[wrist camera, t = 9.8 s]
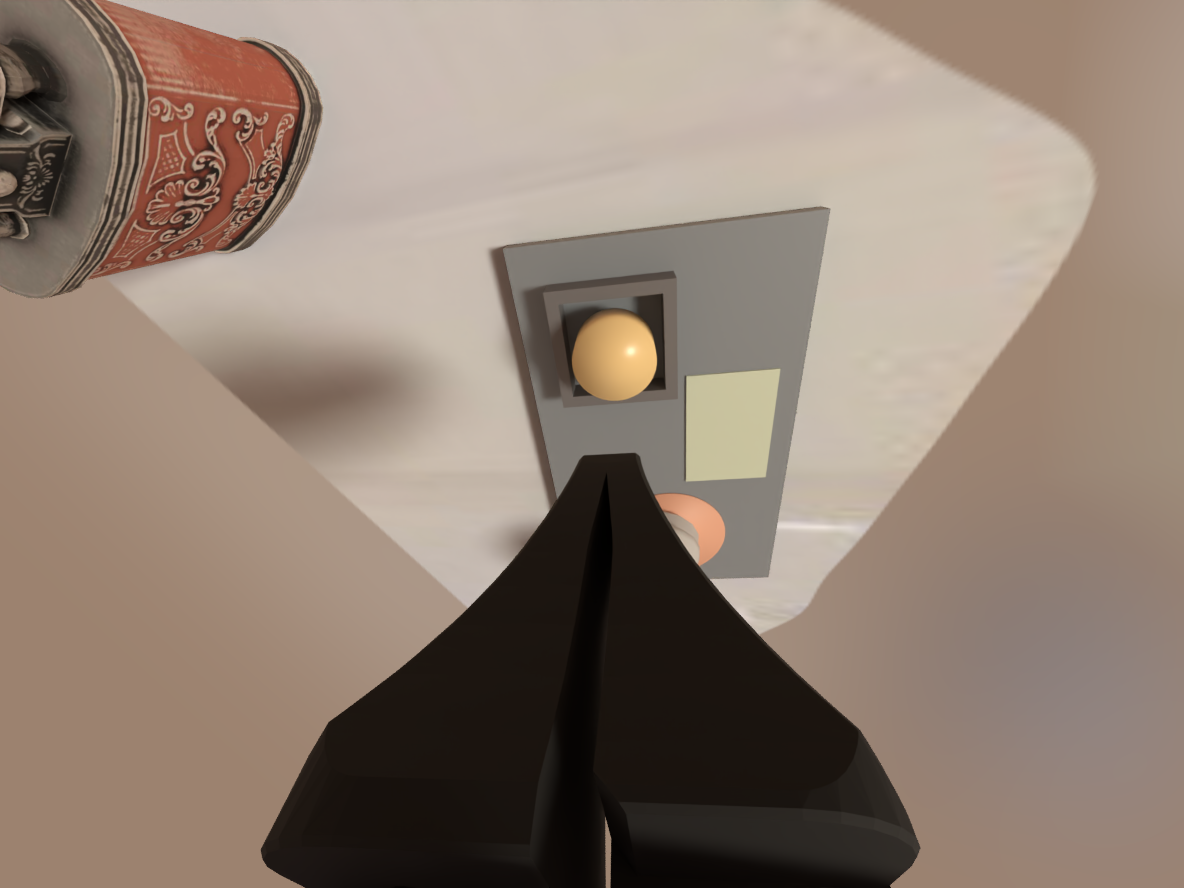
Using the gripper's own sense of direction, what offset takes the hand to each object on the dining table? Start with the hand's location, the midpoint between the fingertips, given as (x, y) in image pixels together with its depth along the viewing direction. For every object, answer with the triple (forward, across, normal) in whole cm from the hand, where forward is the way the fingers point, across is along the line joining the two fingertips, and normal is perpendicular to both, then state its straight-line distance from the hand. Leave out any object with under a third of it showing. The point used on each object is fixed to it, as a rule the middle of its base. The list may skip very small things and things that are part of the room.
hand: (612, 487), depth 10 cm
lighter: (+11, +13, -8) cm, 19 cm away
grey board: (+10, -2, +6) cm, 12 cm away
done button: (+9, 0, 0) cm, 9 cm away
